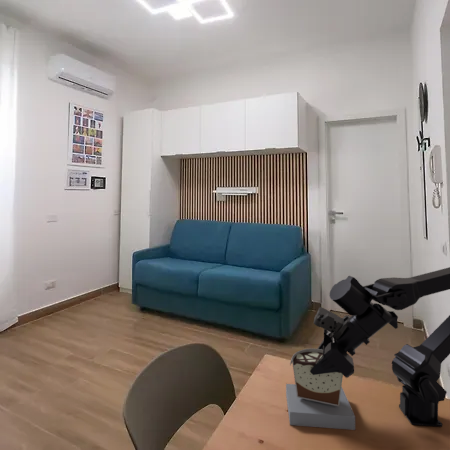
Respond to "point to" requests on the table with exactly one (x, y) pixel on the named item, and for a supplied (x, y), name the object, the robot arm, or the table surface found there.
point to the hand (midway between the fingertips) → (312, 365)
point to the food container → (315, 379)
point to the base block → (319, 412)
